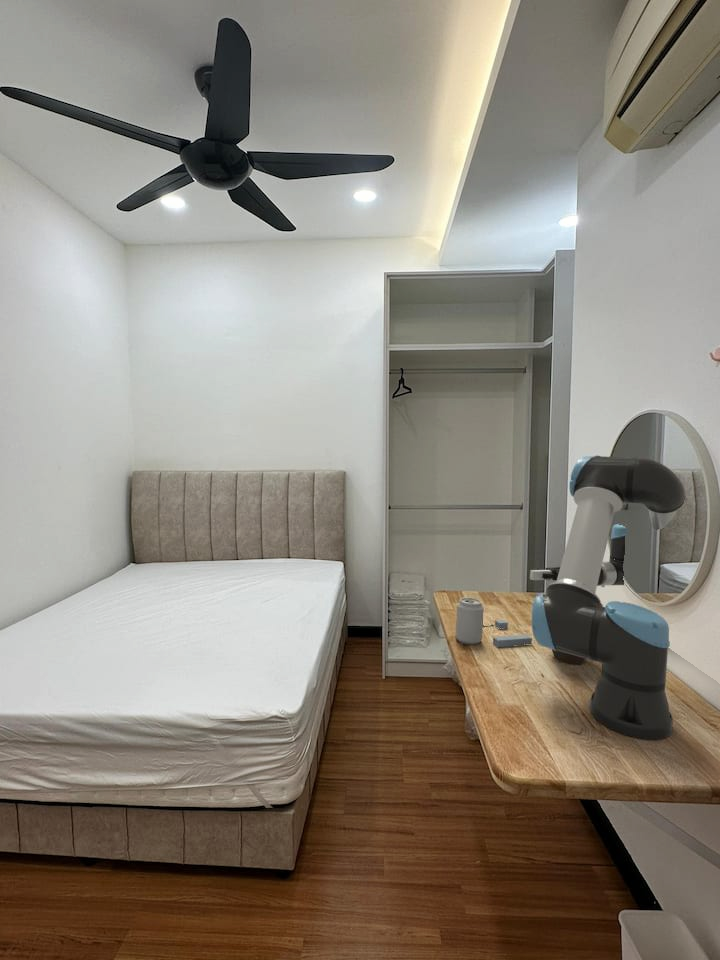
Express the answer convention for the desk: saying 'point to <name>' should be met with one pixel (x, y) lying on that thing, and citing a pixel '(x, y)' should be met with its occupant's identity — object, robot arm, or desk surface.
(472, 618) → the can
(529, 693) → the desk surface
